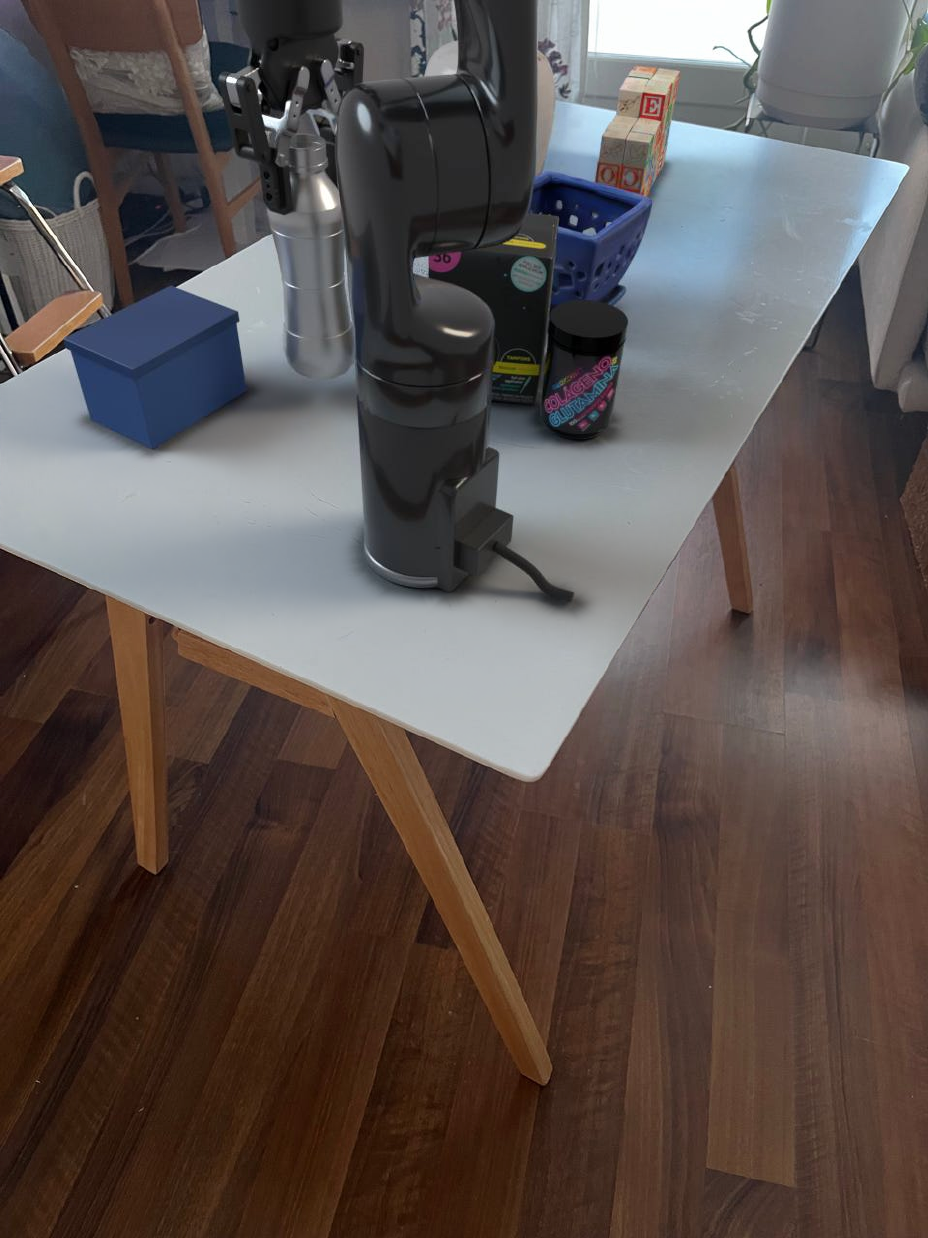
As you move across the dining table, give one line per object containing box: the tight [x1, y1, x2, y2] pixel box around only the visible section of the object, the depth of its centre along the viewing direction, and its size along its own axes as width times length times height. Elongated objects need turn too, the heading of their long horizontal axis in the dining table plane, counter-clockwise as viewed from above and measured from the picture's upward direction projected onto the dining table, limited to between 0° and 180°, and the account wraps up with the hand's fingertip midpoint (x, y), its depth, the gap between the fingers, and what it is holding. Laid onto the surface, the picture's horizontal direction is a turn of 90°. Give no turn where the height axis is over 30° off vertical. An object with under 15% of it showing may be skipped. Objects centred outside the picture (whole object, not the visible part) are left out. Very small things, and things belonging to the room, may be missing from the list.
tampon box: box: [427, 213, 559, 406], centre depth 87 cm, size 11×9×15 cm
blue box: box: [63, 285, 248, 450], centre depth 84 cm, size 8×12×8 cm
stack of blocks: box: [594, 65, 681, 197], centre depth 125 cm, size 21×6×12 cm, turn 162°
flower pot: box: [528, 170, 653, 332], centre depth 98 cm, size 13×13×12 cm
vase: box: [423, 39, 557, 177], centre depth 111 cm, size 16×16×23 cm
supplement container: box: [539, 300, 629, 441], centre depth 83 cm, size 7×7×10 cm
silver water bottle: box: [266, 133, 355, 380], centre depth 80 cm, size 6×7×20 cm
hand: (306, 198), depth 76 cm, fingers closed on silver water bottle, 6 cm apart
